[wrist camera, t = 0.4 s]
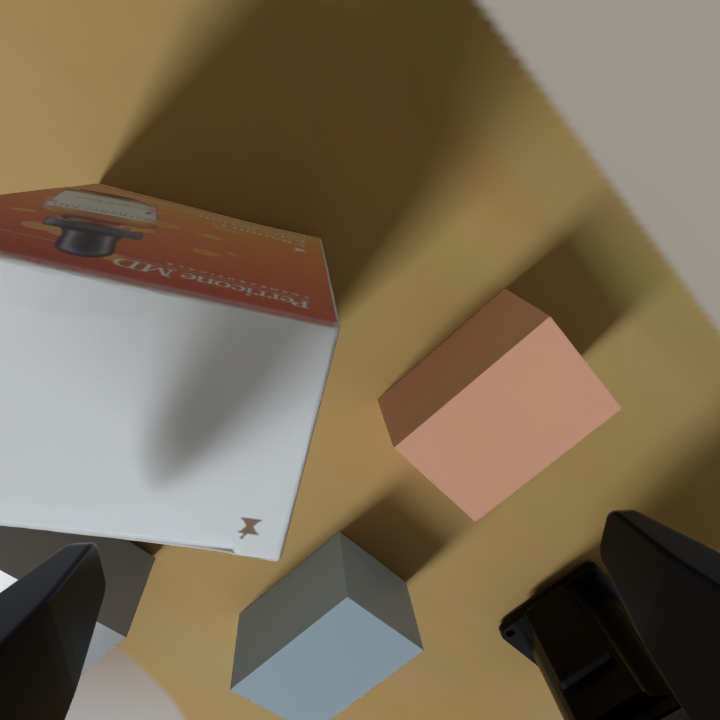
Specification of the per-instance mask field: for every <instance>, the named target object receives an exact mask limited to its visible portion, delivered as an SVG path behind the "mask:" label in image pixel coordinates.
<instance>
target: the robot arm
mask: <svg viewBox="0 0 720 720" xmlns="http://www.w3.org/2000/svg"><path fill="white" fill-rule="evenodd" d="M600 553H601V557H602V560H603V562H604V564H605V567H606V569H607V571H608V573H609V575H610V577H611V579H612V580H611V579H610V578H609V577H608V576H607V575H606V574H605V573H604V572H603V571H602V570H601V569H600V568H599V567H598V566H597V565H596V564H595V563H593V562H589V563H586V564H584V565H582V566H581V567H580V568H578V569H577V570H575V571H574V572H573V573H571V574H570V575H568V576H567V577H566V578H564V579H563V580H561V581H560V582H559V583H557V584H556V585H555V586H553V587H552V588H550V589H549V590H548V591H546V592H545V593H543V594H542V595H541V596H539V597H538V598H536V599H535V600H534V601H532V602H531V603H530V604H528V605H527V606H525V607H524V608H523V609H521V610H520V611H518V612H517V613H516V614H514V615H513V616H511V617H510V618H509V619H507V620H506V621H505V622H503V623H502V624H501V625H500V627H499V631H500V633H501V636H502V637H503V639H505V640H506V641H507V642H508V643H510V644H511V645H512V646H513V647H515V648H516V649H517V650H518V651H520V652H521V653H522V654H523V655H525V656H526V657H527V658H529V659H530V660H531V661H532V662H534V663H535V664H536V665H537V666H539V668H540V670H541V673H542V675H543V677H544V679H545V681H546V683H547V685H548V687H549V689H550V691H551V693H552V695H553V698H554V700H555V702H556V704H557V706H558V708H559V710H560V712H561V714H562V716H563V718H564V720H720V553H719V552H717V551H715V550H713V549H711V548H709V547H707V546H705V545H703V544H701V543H699V542H697V541H695V540H693V539H691V538H689V537H687V536H685V535H683V534H681V533H679V532H677V531H675V530H673V529H671V528H669V527H667V526H665V525H663V524H661V523H659V522H657V521H655V520H653V519H651V518H649V517H647V516H645V515H643V514H641V513H639V512H637V511H634V510H617V511H612V512H610V513H609V514H608V516H607V519H606V523H605V527H604V532H603V536H602V540H601V545H600ZM105 589H106V581H105V576H104V571H103V567H102V562H101V558H100V554H99V550H98V547H97V545H96V544H94V543H91V542H90V543H73V544H69V545H66V546H65V547H63V548H62V549H60V550H59V551H58V552H56V553H55V554H53V555H52V556H51V557H49V558H48V559H46V560H45V561H44V562H42V563H41V564H39V565H38V566H37V567H35V568H34V569H33V570H31V571H30V572H28V573H27V574H26V575H24V576H23V577H21V578H20V579H19V580H17V581H16V582H14V583H13V584H12V585H10V586H9V587H7V588H6V589H5V590H3V591H2V592H0V720H65V717H66V714H67V712H68V710H69V707H70V704H71V702H72V699H73V697H74V694H75V691H76V688H77V685H78V682H79V679H80V676H81V673H82V669H83V666H84V663H85V659H86V656H87V652H88V649H89V646H90V642H91V639H92V636H93V632H94V629H95V626H96V622H97V619H98V615H99V612H100V609H101V605H102V602H103V599H104V595H105Z"/></svg>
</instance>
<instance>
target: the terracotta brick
mask: <svg viewBox="0 0 720 720" xmlns="http://www.w3.org/2000/svg"><path fill="white" fill-rule="evenodd" d="M378 403H379V406H380V409H381V412H382V414H383V417H384V420H385V423H386V426H387V429H388V432H389V435H390V438H391V441H392V444H393V447H394V448H395V449H396V450H397V451H398V452H399V453H400V454H401V455H402V456H403V457H405V458H406V459H407V460H408V461H409V462H410V463H411V464H412V465H413V466H414V467H416V468H417V469H418V470H419V471H420V472H421V473H422V474H423V475H424V476H425V477H427V478H428V479H429V480H430V481H431V482H432V483H433V484H434V485H435V486H436V487H438V488H439V489H440V490H441V491H442V492H443V493H444V494H445V495H446V496H448V497H449V498H450V499H451V500H452V501H453V502H454V503H455V504H456V505H457V506H459V507H460V508H461V509H462V510H463V511H464V512H465V513H466V514H467V515H468V516H470V517H471V518H472V519H473V520H474V521H475V522H476V521H477V520H479V519H480V518H481V517H483V516H484V515H485V514H486V513H488V512H489V511H490V510H492V509H493V508H494V507H495V506H497V505H498V504H499V503H501V502H502V501H503V500H504V499H506V498H507V497H508V496H510V495H511V494H512V493H513V492H515V491H516V490H517V489H519V488H520V487H521V486H522V485H524V484H525V483H526V482H528V481H529V480H530V479H531V478H533V477H534V476H535V475H537V474H538V473H539V472H541V471H542V470H543V469H544V468H546V467H547V466H548V465H550V464H551V463H552V462H553V461H555V460H556V459H557V458H559V457H560V456H561V455H562V454H564V453H565V452H566V451H568V450H569V449H570V448H571V447H573V446H574V445H575V444H577V443H578V442H579V441H580V440H582V439H583V438H584V437H586V436H587V435H588V434H589V433H591V432H592V431H593V430H595V429H596V428H597V427H599V426H600V425H601V424H602V423H604V422H605V421H606V420H608V419H609V418H610V417H611V416H613V415H614V414H615V413H617V412H618V411H619V410H620V409H622V408H621V407H620V405H619V404H618V403H617V402H616V400H615V399H614V398H613V396H612V395H611V394H610V392H609V391H608V390H607V389H606V387H605V386H604V385H603V383H602V382H601V381H600V380H599V378H598V377H597V376H596V374H595V373H594V372H593V371H592V369H591V368H590V367H589V365H588V364H587V363H586V362H585V360H584V359H583V358H582V356H581V355H580V354H579V353H578V351H577V350H576V349H575V347H574V346H573V345H572V344H571V342H570V341H569V340H568V338H567V337H566V336H565V335H564V333H563V332H562V331H561V329H560V328H559V327H558V326H557V324H556V323H555V322H554V320H553V319H552V318H551V317H550V316H549V315H547V314H546V313H544V312H543V311H541V310H539V309H538V308H536V307H534V306H533V305H531V304H530V303H528V302H526V301H525V300H523V299H522V298H520V297H518V296H517V295H515V294H513V293H512V292H510V291H509V290H507V289H504V290H502V291H501V292H500V293H499V294H498V295H497V296H496V297H494V298H493V299H492V300H491V301H490V302H489V303H487V304H486V305H485V306H484V307H483V308H482V309H481V310H479V311H478V312H477V313H476V314H475V315H474V316H473V317H471V318H470V319H469V320H468V321H467V322H466V323H465V324H463V325H462V326H461V327H460V328H459V329H458V330H457V331H455V332H454V333H453V334H452V335H451V336H450V337H449V338H447V339H446V340H445V341H444V342H443V343H442V344H441V345H439V346H438V347H437V348H436V349H435V350H434V351H433V352H431V353H430V354H429V355H428V356H427V357H426V358H425V359H423V360H422V361H421V362H420V363H419V364H418V365H417V366H415V367H414V368H413V369H412V370H411V371H410V372H409V373H407V374H406V375H405V376H404V377H403V378H402V379H400V380H399V381H398V382H397V383H396V384H395V385H394V386H392V387H391V388H390V389H389V390H388V391H387V392H386V393H384V394H383V395H382V396H381V397H380V398H379V399H378Z"/></svg>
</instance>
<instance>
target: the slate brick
mask: <svg viewBox="0 0 720 720" xmlns="http://www.w3.org/2000/svg"><path fill="white" fill-rule="evenodd" d="M422 651H424V649H423V646H422V642H421V638H420V634H419V630H418V626H417V623H416V619H415V615H414V611H413V607H412V604H411V600H410V596H409V592H408V588H407V584H406V582H405V581H404V580H402V579H401V578H400V577H398V576H397V575H396V574H394V573H393V572H392V571H391V570H389V569H388V568H387V567H385V566H384V565H383V564H381V563H380V562H379V561H377V560H376V559H375V558H374V557H372V556H371V555H370V554H368V553H367V552H366V551H364V550H363V549H362V548H360V547H359V546H358V545H356V544H355V543H354V542H353V541H351V540H350V539H349V538H347V537H346V536H345V535H343V534H342V533H341V532H338V533H337V534H336V535H335V536H334V537H332V538H331V539H330V540H329V541H328V542H326V543H325V544H324V545H323V546H322V547H320V548H319V549H318V550H317V551H316V552H314V553H313V554H312V555H311V556H309V557H308V558H307V559H306V560H305V561H303V562H302V563H301V564H300V565H299V566H297V567H296V568H295V569H294V570H293V571H291V572H290V573H289V574H288V575H287V576H285V577H284V578H283V579H282V580H280V581H279V582H278V583H277V584H276V585H274V586H273V587H272V588H271V589H270V590H268V591H267V592H266V593H265V594H264V595H262V596H261V597H260V598H259V599H257V600H256V601H255V602H254V603H253V604H251V605H250V606H249V607H248V608H247V609H245V610H244V611H243V612H242V613H241V614H239V622H238V630H237V638H236V647H235V655H234V663H233V671H232V679H231V687H230V690H232V691H233V692H235V693H237V694H239V695H241V696H243V697H245V698H247V699H248V700H250V701H252V702H254V703H256V704H258V705H260V706H262V707H263V708H265V709H267V710H269V711H271V712H273V713H275V714H277V715H278V716H280V717H282V718H284V719H286V720H330V719H332V718H333V717H334V716H336V715H337V714H338V713H340V712H341V711H342V710H344V709H345V708H346V707H348V706H349V705H351V704H352V703H353V702H355V701H356V700H357V699H359V698H360V697H361V696H363V695H364V694H365V693H367V692H368V691H370V690H371V689H372V688H374V687H375V686H376V685H378V684H379V683H380V682H382V681H383V680H384V679H386V678H387V677H388V676H390V675H391V674H393V673H394V672H395V671H397V670H398V669H399V668H401V667H402V666H403V665H405V664H406V663H407V662H409V661H410V660H411V659H413V658H414V657H416V656H417V655H418V654H420V653H421V652H422Z"/></svg>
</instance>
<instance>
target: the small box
mask: <svg viewBox="0 0 720 720" xmlns="http://www.w3.org/2000/svg"><path fill="white" fill-rule="evenodd" d="M339 331H340V324H339V319H338V314H337V309H336V305H335V299H334V294H333V290H332V286H331V281H330V277H329V272H328V267H327V263H326V258H325V253H324V249H323V245H322V240H321V239H320V238H318V237H315V236H310V235H305V234H301V233H297V232H292V231H287V230H282V229H278V228H273V227H269V226H265V225H260V224H256V223H252V222H248V221H244V220H240V219H236V218H232V217H229V216H225V215H221V214H217V213H213V212H209V211H206V210H202V209H198V208H194V207H191V206H187V205H183V204H179V203H175V202H171V201H167V200H163V199H159V198H155V197H151V196H147V195H143V194H139V193H135V192H132V191H128V190H124V189H120V188H116V187H112V186H108V185H104V184H90V185H83V186H75V187H64V188H53V189H44V190H36V191H28V192H20V193H12V194H4V195H0V525H1V526H10V527H22V528H30V529H38V530H48V531H55V532H64V533H73V534H81V535H90V536H100V537H110V538H118V539H125V540H133V541H143V542H150V543H158V544H165V545H174V546H184V547H191V548H199V549H205V550H212V551H219V552H227V553H231V554H234V555H240V556H246V557H254V558H260V559H265V560H270V561H278V560H279V559H280V558H281V556H282V553H283V550H284V545H285V541H286V537H287V534H288V530H289V526H290V522H291V518H292V514H293V510H294V506H295V502H296V498H297V494H298V490H299V486H300V482H301V478H302V474H303V470H304V466H305V463H306V459H307V455H308V451H309V447H310V443H311V439H312V435H313V432H314V428H315V424H316V420H317V416H318V412H319V408H320V405H321V401H322V397H323V393H324V389H325V385H326V381H327V377H328V373H329V370H330V366H331V362H332V358H333V354H334V350H335V346H336V342H337V339H338V335H339Z"/></svg>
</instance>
